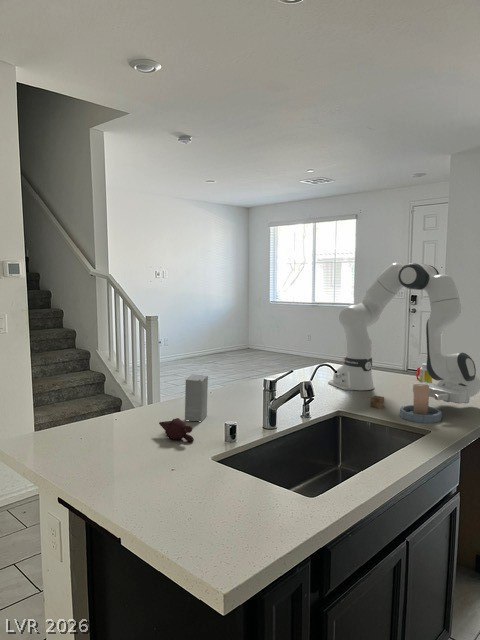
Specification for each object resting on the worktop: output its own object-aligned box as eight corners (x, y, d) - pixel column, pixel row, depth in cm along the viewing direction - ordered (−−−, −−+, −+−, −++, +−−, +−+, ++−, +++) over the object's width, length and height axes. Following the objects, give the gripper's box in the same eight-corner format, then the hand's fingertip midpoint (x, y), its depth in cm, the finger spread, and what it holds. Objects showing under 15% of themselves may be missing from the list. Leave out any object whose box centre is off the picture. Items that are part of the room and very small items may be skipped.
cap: (411, 372, 239) (417, 367, 234) (419, 367, 242) (425, 363, 237) (420, 385, 237) (427, 381, 232) (428, 380, 240) (435, 376, 234)
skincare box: (191, 415, 178) (190, 373, 176) (209, 416, 176) (208, 374, 175) (183, 422, 170) (183, 378, 168) (202, 423, 168) (202, 379, 167)
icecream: (149, 418, 152) (182, 431, 143) (165, 408, 158) (198, 420, 149) (152, 437, 155) (185, 451, 146) (168, 426, 160) (201, 438, 151)
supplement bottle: (434, 385, 224) (434, 364, 223) (428, 387, 220) (428, 365, 219) (423, 383, 228) (423, 362, 227) (417, 385, 225) (417, 363, 224)
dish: (392, 415, 176) (392, 408, 176) (417, 409, 183) (417, 403, 183) (424, 425, 164) (424, 418, 164) (449, 418, 171) (449, 411, 171)
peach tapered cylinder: (410, 414, 175) (410, 384, 174) (419, 411, 177) (419, 383, 176) (422, 417, 170) (423, 387, 169) (431, 415, 173) (432, 385, 172)
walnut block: (370, 407, 187) (370, 397, 187) (374, 405, 190) (374, 395, 190) (380, 409, 185) (380, 399, 184) (384, 406, 188) (384, 397, 188)
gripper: (426, 377, 190) (403, 381, 183) (473, 387, 173) (450, 392, 166) (425, 392, 191) (402, 397, 184) (473, 404, 173) (449, 409, 166)
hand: (425, 394), depth 174 cm, fingers open, 8 cm apart
